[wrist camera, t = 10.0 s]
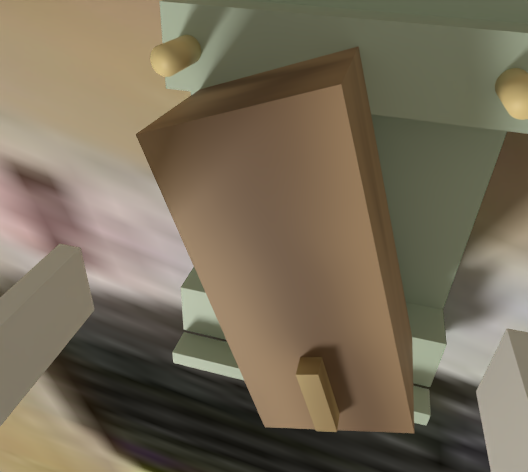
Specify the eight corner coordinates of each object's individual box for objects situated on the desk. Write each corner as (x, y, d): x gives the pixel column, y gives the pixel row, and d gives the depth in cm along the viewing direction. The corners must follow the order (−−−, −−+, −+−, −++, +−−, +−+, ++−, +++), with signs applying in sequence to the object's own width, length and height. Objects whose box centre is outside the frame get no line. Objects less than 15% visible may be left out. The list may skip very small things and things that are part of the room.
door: (289, 341, 23) (259, 444, 18) (200, 89, 17) (121, 144, 12) (412, 337, 21) (414, 452, 16) (358, 46, 15) (337, 93, 10)
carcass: (204, 313, 28) (169, 376, 24) (190, -51, 17) (125, -50, 13) (420, 361, 25) (424, 441, 21) (558, -28, 15) (616, -17, 11)
